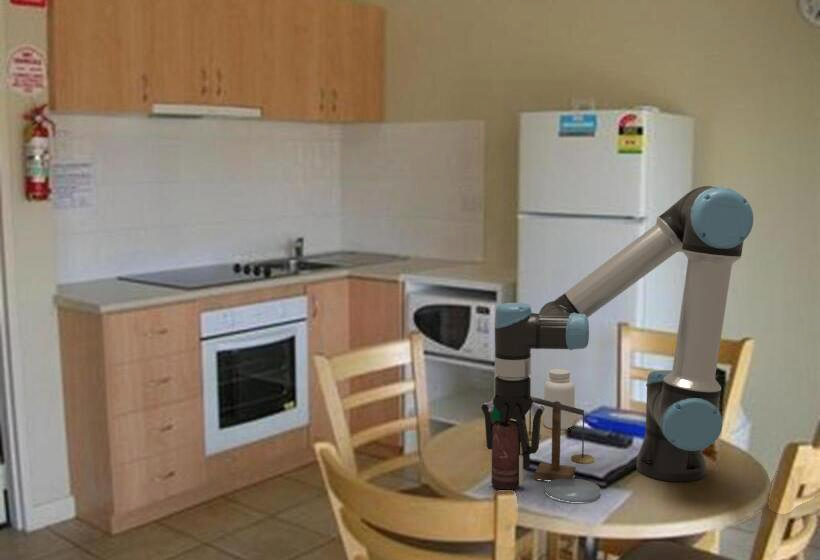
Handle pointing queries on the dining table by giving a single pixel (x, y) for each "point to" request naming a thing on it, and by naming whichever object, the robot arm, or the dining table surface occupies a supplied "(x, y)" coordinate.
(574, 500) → the dish
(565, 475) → the balance
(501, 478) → the can
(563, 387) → the pill bottle
